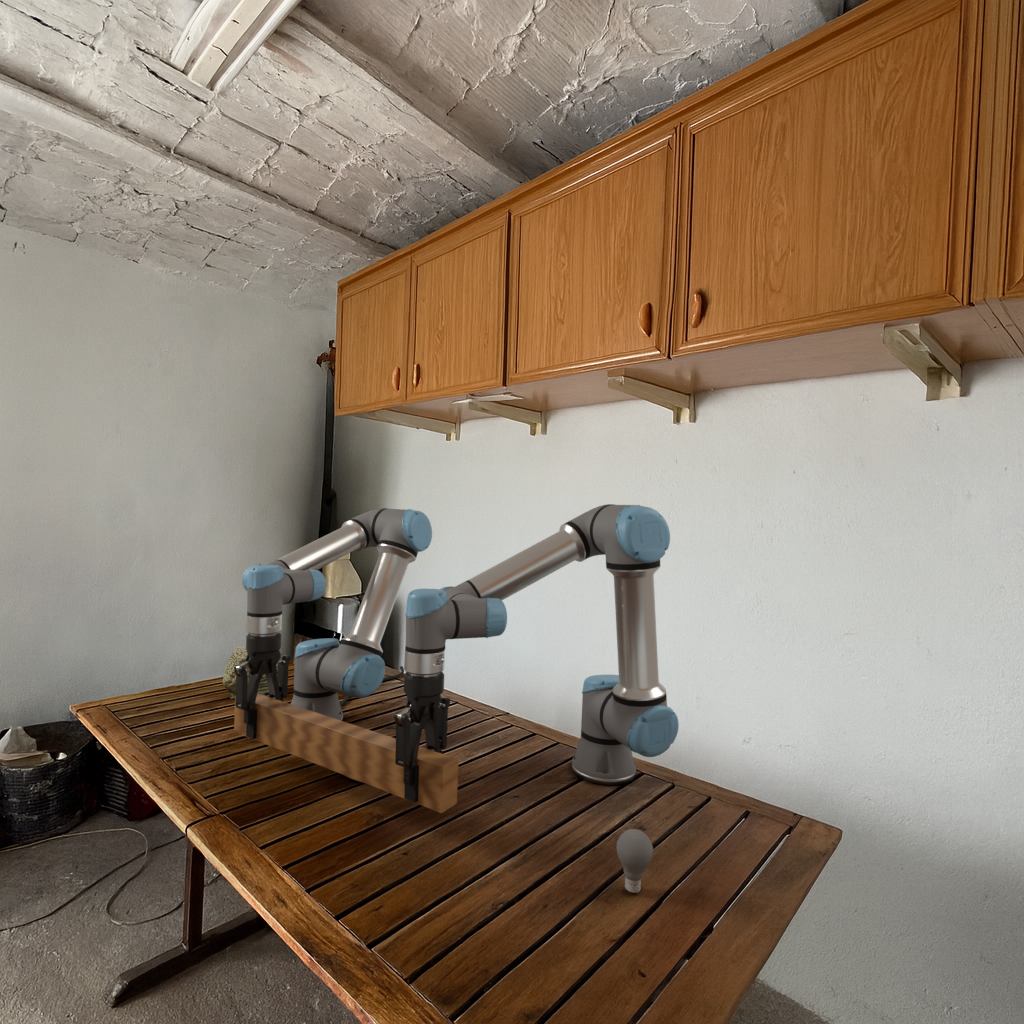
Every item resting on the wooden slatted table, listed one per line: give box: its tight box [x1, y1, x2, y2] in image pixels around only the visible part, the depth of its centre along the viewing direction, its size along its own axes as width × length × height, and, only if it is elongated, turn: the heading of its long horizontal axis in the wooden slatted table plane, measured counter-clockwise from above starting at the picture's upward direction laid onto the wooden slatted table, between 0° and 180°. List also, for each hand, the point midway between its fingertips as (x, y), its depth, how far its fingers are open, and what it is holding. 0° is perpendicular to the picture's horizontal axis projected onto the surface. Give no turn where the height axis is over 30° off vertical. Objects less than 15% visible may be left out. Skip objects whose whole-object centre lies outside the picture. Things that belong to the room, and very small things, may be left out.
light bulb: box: [615, 828, 654, 894], centre depth 106 cm, size 6×6×10 cm
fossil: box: [222, 646, 270, 699], centre depth 198 cm, size 9×18×15 cm, turn 132°
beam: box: [233, 693, 460, 814], centre depth 133 cm, size 62×5×8 cm, turn 57°
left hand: (261, 733), depth 146 cm, fingers closed on beam, 5 cm apart
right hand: (420, 794), depth 120 cm, fingers closed on beam, 5 cm apart
